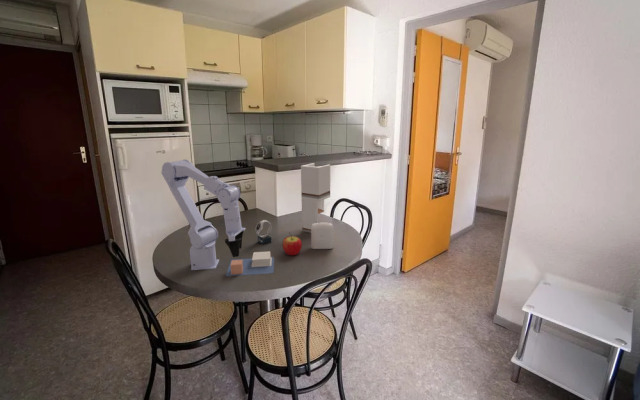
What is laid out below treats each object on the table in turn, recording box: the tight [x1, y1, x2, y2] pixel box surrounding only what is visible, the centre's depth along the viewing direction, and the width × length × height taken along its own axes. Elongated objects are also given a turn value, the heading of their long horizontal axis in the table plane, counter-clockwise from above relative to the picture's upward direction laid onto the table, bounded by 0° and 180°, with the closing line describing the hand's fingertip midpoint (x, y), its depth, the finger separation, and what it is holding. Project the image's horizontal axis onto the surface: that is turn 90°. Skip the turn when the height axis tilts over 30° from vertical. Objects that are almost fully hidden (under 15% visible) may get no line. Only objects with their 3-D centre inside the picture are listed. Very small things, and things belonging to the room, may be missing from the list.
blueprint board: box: [225, 256, 275, 277], centre depth 122 cm, size 18×14×1 cm
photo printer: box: [310, 221, 335, 250], centre depth 138 cm, size 10×4×12 cm, turn 89°
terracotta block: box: [230, 259, 243, 275], centre depth 117 cm, size 4×4×4 cm
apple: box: [282, 232, 303, 256], centre depth 132 cm, size 8×8×10 cm
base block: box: [251, 250, 272, 266], centre depth 125 cm, size 7×7×3 cm
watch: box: [254, 219, 273, 245], centre depth 145 cm, size 6×8×11 cm
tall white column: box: [300, 162, 331, 234], centre depth 159 cm, size 11×11×35 cm
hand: (237, 252), depth 115 cm, fingers open, 7 cm apart
